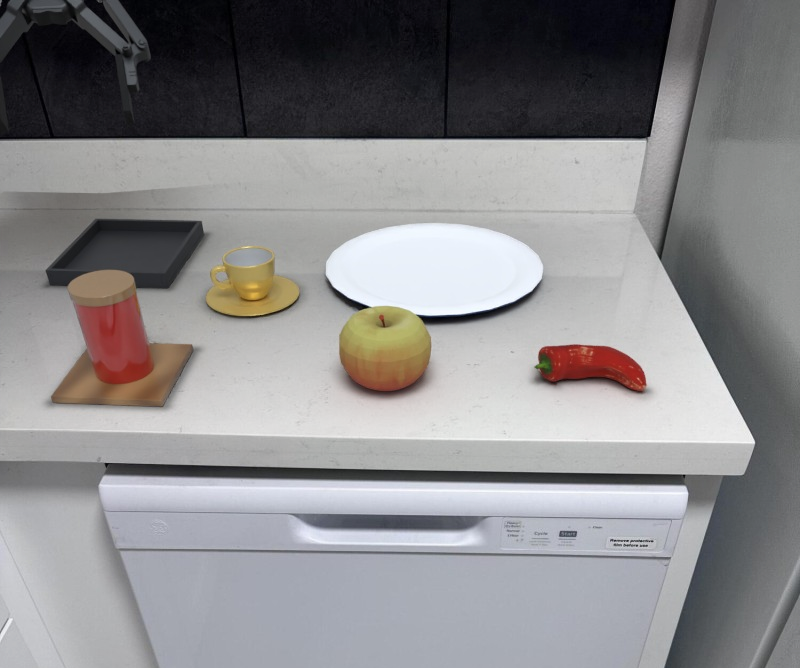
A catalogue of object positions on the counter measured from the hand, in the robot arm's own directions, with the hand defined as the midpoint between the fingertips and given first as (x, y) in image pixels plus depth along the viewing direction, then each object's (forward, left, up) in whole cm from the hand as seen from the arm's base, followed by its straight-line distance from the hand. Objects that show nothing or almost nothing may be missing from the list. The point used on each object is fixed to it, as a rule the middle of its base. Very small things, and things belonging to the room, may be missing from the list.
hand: (66, 122), depth 87 cm
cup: (+18, +2, -21) cm, 28 cm away
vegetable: (+59, -16, -21) cm, 64 cm away
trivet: (+8, -18, -21) cm, 29 cm away
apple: (+37, -17, -21) cm, 46 cm away
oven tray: (-2, +13, -21) cm, 25 cm away
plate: (+41, +10, -21) cm, 47 cm away
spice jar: (+8, -18, -20) cm, 28 cm away
